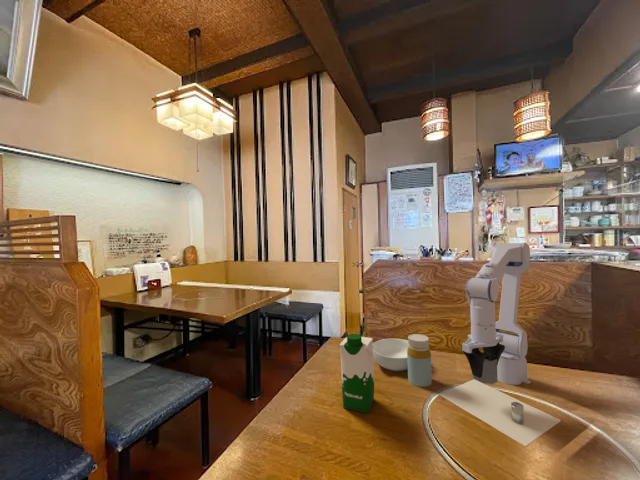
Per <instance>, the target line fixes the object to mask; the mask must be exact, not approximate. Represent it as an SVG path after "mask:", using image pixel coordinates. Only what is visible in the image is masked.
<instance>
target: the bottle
mask: <svg viewBox="0 0 640 480" xmlns="http://www.w3.org/2000/svg"><path fill="white" fill-rule="evenodd" d="M407 340H408V344H409V345H408V346H409V347H408V350H407V361H408V369H407V381H408V383H410V384H411V385H413V386H415V387H419V388H427V387H430V386H431V385H432V384H433V383H432V381H433V378H432V353H431V351H430V339H429V337H428V336H427V335H425V334H421V333H420V334H419V333H413V334H409V335H408V337H407Z"/></svg>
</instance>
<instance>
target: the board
mask: <svg viewBox="0 0 640 480" xmlns="http://www.w3.org/2000/svg"><path fill="white" fill-rule="evenodd" d="M438 396H441V397H442V398H443V399H446V400H448V401H449V402H450V403H452V404H454V405H456V406H457V407H458V408H461V409H462V410H463V411H465V412H468V413H469V414H470V415H472V416H473V417H476V418H477V419H479V420H480V421H482V422H483V423H485V424H488V425H489V426H490V427H491V428H494V429H495V430H497V431H499V432H500V433H502V434H504V435H506V436H507V437H509V438H510V439H513V440H514V441H516V442H517V443H519V444H520V445H523V447H527V446H529V445H530V444H531V443H533V442H534V441H535V440H537V439H538V438H539V437H541V436H543V434H545V433H546V432H547V431H550V429H552V428H553V427H554V426H556V425H557V424H559V423H560V422H561V421H562V420H561V419H559V418H557V417H555V416H553V415H550V414H549V413H546V412H544V411H542V410H540V409H538V408H536V407H533V406H532V405H529V404H528V403H525V402H523V401H521V400H519V399H517V398H515V397H512V396H510V395H508V394H506V393H504V392H502V391H500V390H497V389H496V388H493V387H491V386H490V385H487V384H486V383H481V382H479V381H477V380H475V379H472V380H469V381H467V382H464V383H462V384H460V385H457V386H455V387H452V388H451V389H448V390H445V391H444V392H442V393H439V394H438ZM512 402H518V403H520V404H522V405H523V407H524V424H522V425H520V424H516V423H514V422H513V421H512V410H511V403H512Z"/></svg>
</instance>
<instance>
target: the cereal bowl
mask: <svg viewBox="0 0 640 480" xmlns="http://www.w3.org/2000/svg"><path fill="white" fill-rule="evenodd" d="M408 345H409V344H408V339H404V338H403V339H402V338H394V337H393V338H389V337H388V338H382V339H379V340H377V341H374V342H373V360H374V361H375V362H376V363H377V365H379V366H381V367H383V368H385V369H387V370H389V371H393V372H403V371H408V361H407V350H408V347H409V346H408Z"/></svg>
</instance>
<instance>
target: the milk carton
mask: <svg viewBox="0 0 640 480" xmlns="http://www.w3.org/2000/svg"><path fill="white" fill-rule="evenodd" d="M373 343H374V339H373V337H367V336H366V337H365V336H361V335H360V334H358V333H357V334H356V333H351V334H348V335H347V336H345V338H343V340H342V341H341V342H340V343H339V353H340V372H341V373H340V374H341V377H340V378H341V393H342V408H343V409H348V410H351V411H354V412H355V411H356V412H360V413H363V414H369V412H370V409H371V406H372V403H373V401H374V400H375V365H374V357H373Z"/></svg>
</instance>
